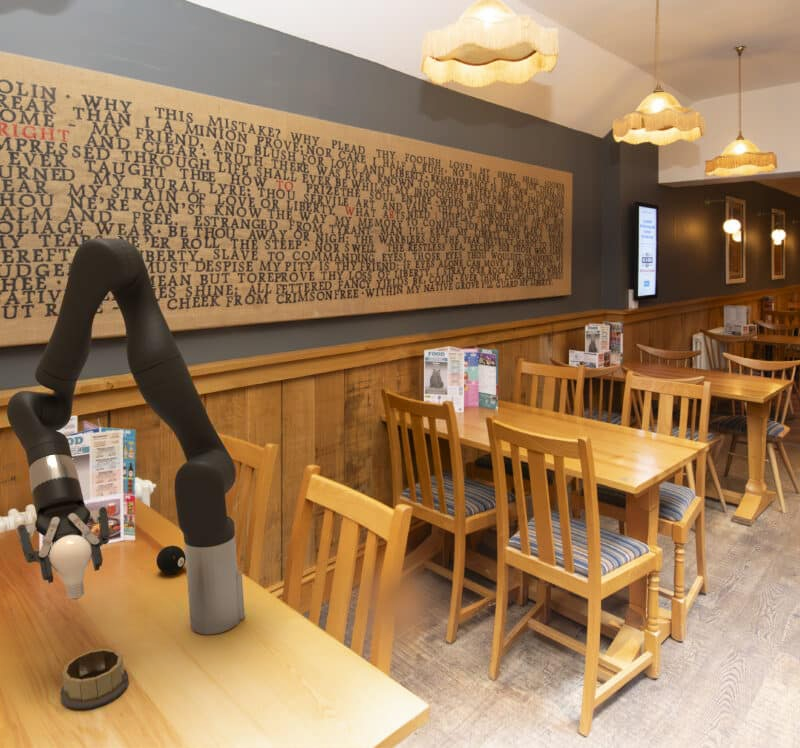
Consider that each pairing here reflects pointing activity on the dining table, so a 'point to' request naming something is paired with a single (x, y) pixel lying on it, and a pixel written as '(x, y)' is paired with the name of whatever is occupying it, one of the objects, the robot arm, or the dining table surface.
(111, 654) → the bulb holder
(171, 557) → the billiard ball
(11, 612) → the dining table surface
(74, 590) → the lightbulb
